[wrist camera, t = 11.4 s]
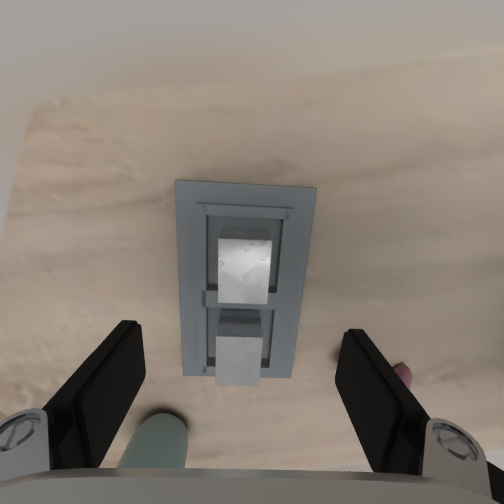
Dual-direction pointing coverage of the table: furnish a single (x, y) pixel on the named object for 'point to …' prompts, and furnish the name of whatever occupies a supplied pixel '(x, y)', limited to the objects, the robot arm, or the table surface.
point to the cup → (157, 444)
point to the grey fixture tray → (206, 266)
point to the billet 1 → (244, 265)
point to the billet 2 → (238, 347)
